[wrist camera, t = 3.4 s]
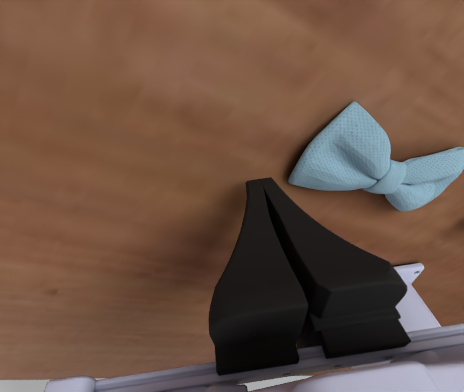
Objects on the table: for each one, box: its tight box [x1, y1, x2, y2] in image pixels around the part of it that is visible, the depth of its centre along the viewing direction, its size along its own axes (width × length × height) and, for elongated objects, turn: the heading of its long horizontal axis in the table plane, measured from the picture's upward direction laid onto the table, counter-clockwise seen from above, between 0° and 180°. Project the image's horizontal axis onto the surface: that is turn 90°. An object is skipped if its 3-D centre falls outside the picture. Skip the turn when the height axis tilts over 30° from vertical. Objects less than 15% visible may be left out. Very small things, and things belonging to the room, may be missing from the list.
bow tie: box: [288, 101, 464, 211], centre depth 13 cm, size 10×2×5 cm
